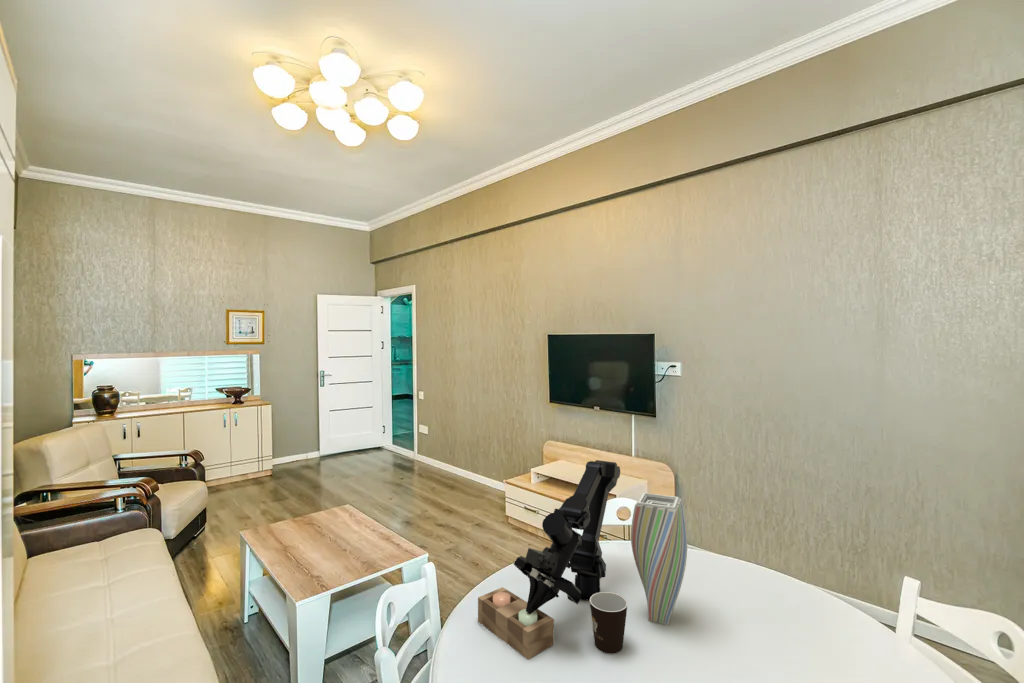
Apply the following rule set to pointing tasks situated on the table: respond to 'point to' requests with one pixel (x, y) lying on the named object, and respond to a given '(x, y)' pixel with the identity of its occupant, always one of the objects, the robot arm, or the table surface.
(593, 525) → the robot arm
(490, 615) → the wooden compartment box
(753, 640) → the table surface
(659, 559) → the vase
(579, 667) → the table surface
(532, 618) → the pale green egg
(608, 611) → the brown paper cup
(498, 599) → the peach orange egg
